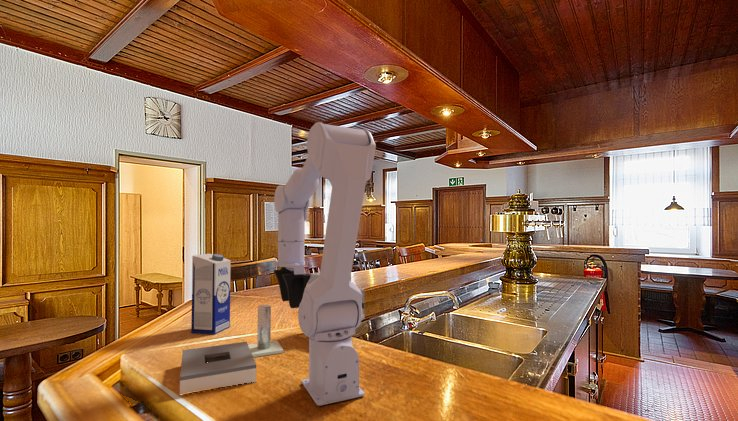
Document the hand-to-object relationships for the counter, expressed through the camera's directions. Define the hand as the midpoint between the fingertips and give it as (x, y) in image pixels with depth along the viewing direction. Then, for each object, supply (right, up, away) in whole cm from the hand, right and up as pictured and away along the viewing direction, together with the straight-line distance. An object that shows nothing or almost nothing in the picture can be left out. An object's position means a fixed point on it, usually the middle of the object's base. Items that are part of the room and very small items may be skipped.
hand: (291, 304), depth 79 cm
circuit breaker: (+9, -11, +13) cm, 19 cm away
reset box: (-11, -10, -11) cm, 19 cm away
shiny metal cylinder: (-6, -10, +1) cm, 12 cm away
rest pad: (-6, -11, +1) cm, 12 cm away
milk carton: (-25, -11, +17) cm, 32 cm away
